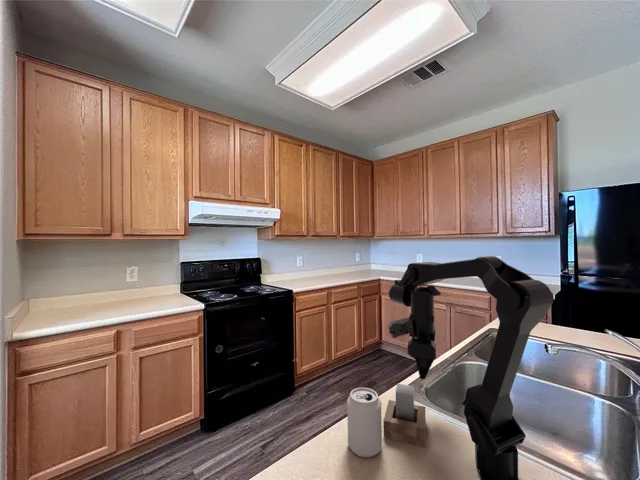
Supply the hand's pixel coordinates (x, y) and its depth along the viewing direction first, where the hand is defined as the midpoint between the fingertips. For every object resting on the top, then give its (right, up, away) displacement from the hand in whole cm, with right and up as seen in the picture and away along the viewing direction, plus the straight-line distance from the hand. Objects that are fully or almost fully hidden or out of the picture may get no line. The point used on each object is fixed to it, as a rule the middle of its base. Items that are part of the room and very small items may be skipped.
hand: (423, 370), depth 74 cm
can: (-17, -13, -10) cm, 23 cm away
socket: (-6, -12, -5) cm, 14 cm away
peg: (-6, -12, -5) cm, 14 cm away
